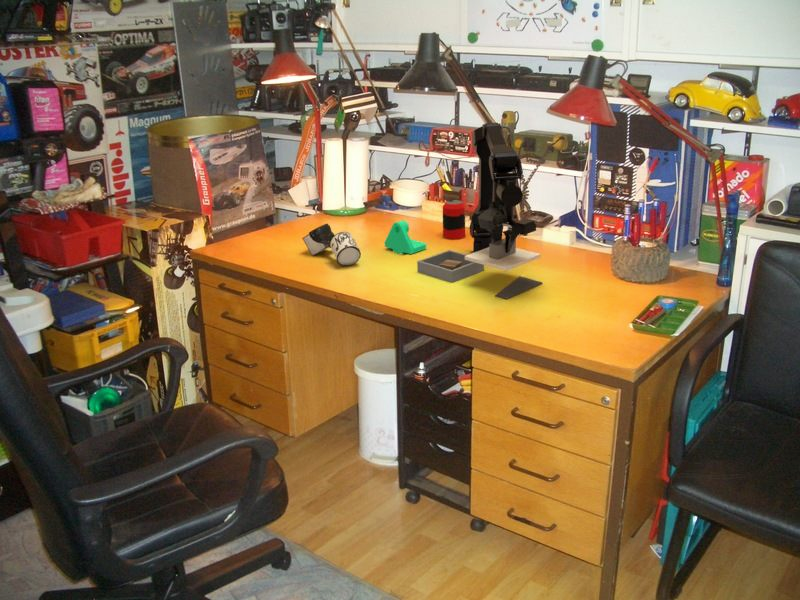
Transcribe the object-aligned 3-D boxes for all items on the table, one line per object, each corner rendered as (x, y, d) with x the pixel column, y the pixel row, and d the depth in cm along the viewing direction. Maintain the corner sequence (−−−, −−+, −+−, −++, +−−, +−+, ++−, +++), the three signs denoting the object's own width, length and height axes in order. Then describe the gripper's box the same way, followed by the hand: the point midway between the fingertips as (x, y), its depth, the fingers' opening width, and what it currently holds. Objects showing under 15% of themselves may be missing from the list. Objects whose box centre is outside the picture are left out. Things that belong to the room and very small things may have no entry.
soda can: (457, 232, 274) (457, 198, 270) (469, 237, 268) (469, 202, 264) (438, 235, 271) (438, 201, 266) (450, 241, 265) (450, 206, 260)
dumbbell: (369, 264, 246) (367, 233, 242) (343, 272, 240) (341, 240, 236) (324, 246, 264) (322, 217, 261) (299, 253, 259) (296, 223, 255)
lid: (498, 246, 231) (498, 230, 230) (540, 257, 221) (540, 240, 219) (464, 259, 222) (464, 242, 220) (506, 271, 212) (507, 253, 210)
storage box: (449, 262, 245) (449, 249, 243) (484, 272, 235) (484, 259, 234) (417, 273, 236) (417, 261, 234) (452, 284, 226) (452, 271, 225)
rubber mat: (498, 271, 235) (498, 270, 235) (542, 283, 224) (542, 282, 224) (462, 286, 225) (462, 284, 225) (506, 299, 214) (506, 297, 214)
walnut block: (447, 267, 238) (447, 259, 237) (462, 269, 236) (462, 261, 235) (439, 272, 234) (439, 264, 233) (454, 274, 232) (454, 266, 231)
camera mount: (427, 251, 256) (426, 220, 252) (411, 257, 251) (410, 226, 247) (401, 244, 264) (400, 214, 260) (385, 249, 259) (383, 219, 255)
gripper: (458, 197, 216) (458, 251, 222) (512, 209, 204) (511, 266, 209) (484, 189, 223) (484, 242, 229) (538, 200, 211) (536, 255, 217)
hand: (502, 251), depth 221 cm, fingers closed on lid, 3 cm apart
